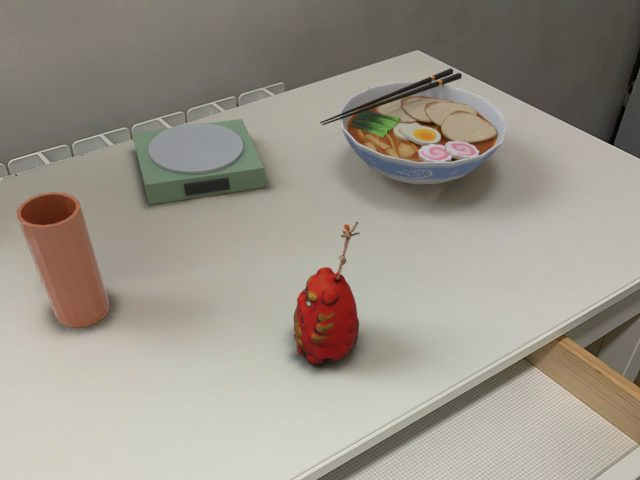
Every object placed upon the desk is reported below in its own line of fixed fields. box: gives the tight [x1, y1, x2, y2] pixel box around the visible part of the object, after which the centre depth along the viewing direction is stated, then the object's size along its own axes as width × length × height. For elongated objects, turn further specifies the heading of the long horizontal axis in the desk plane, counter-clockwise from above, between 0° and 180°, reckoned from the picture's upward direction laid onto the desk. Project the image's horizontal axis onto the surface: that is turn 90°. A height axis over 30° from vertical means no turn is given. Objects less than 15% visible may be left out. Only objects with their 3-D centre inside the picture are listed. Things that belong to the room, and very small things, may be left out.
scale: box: [132, 118, 266, 205], centre depth 93 cm, size 16×14×4 cm
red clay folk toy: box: [293, 221, 361, 366], centre depth 67 cm, size 8×7×15 cm
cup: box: [16, 191, 110, 328], centre depth 71 cm, size 6×6×13 cm
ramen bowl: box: [319, 67, 509, 185], centre depth 93 cm, size 25×23×8 cm
